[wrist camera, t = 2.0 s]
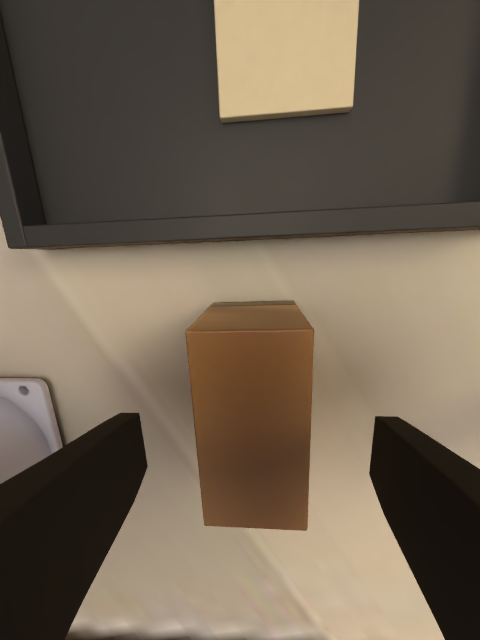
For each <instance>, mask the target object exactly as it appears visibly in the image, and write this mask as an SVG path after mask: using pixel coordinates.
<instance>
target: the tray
mask: <svg viewBox="0 0 480 640" xmlns="http://www.w3.org/2000/svg"><path fill="white" fill-rule="evenodd" d="M0 216H1V220H2V224H3V228H4V232H5V236H6V240H7V244H8V247H9V248H11V249H63V248H85V247H107V246H129V245H151V244H173V243H195V242H217V241H239V240H261V239H283V238H305V237H327V236H349V235H371V234H393V233H415V232H437V231H459V230H480V0H359V12H358V29H357V46H356V63H355V79H354V96H353V107H352V108H351V110H350V112H346V113H334V114H323V115H311V116H299V117H287V118H276V119H264V120H252V121H240V122H229V123H221V120H220V113H219V93H218V74H217V54H216V34H215V15H214V0H0Z"/></svg>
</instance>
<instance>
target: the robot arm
mask: <svg viewBox="0 0 480 640" xmlns="http://www.w3.org/2000/svg"><path fill="white" fill-rule="evenodd" d="M26 387H27V388H28V389H27V388H26ZM147 467H148V466H147V460H146V453H145V447H144V441H143V434H142V428H141V421H140V415H139V413H119V414H118V415H116V416H114V417H112V418H110V419H108V420H107V421H105V422H103V423H102V424H100V425H98V426H97V427H95V428H93V429H92V430H90V431H88V432H87V433H85V434H84V435H82V436H80V437H79V438H77V439H75V440H74V441H72V442H71V443H69V444H67V445H66V446H64V447H63V445H62V441H61V437H60V433H59V429H58V425H57V421H56V417H55V413H54V409H53V405H52V401H51V397H50V393H49V389H48V386H47V384H46V382H45V381H43V380H42V379H39V378H0V640H65V638H66V636H67V633H68V631H69V629H70V626H71V624H72V622H73V620H74V618H75V616H76V614H77V612H78V610H79V608H80V606H81V604H82V602H83V600H84V598H85V596H86V594H87V592H88V590H89V588H90V586H91V584H92V582H93V580H94V578H95V576H96V574H97V573H98V571H99V569H100V567H101V565H102V563H103V561H104V559H105V557H106V555H107V553H108V551H109V550H110V548H111V546H112V544H113V542H114V540H115V538H116V536H117V534H118V532H119V530H120V528H121V526H122V524H123V522H124V520H125V519H126V517H127V515H128V513H129V511H130V509H131V507H132V505H133V503H134V500H135V498H136V495H137V493H138V490H139V488H140V486H141V483H142V480H143V477H144V475H145V472H146V469H147ZM369 474H370V477H371V480H372V483H373V486H374V489H375V491H376V494H377V497H378V500H379V502H380V505H381V508H382V510H383V513H384V515H385V517H386V519H387V521H388V523H389V526H390V528H391V530H392V532H393V534H394V536H395V538H396V540H397V542H398V544H399V546H400V548H401V550H402V552H403V554H404V556H405V558H406V560H407V562H408V564H409V567H410V569H411V571H412V573H413V575H414V577H415V579H416V581H417V583H418V585H419V587H420V589H421V591H422V593H423V595H424V597H425V599H426V601H427V603H428V605H429V607H430V609H431V611H432V613H433V615H434V617H435V619H436V621H437V623H438V625H439V628H440V630H441V632H442V634H443V636H444V638H445V640H480V469H479V468H477V467H476V466H474V465H472V464H471V463H469V462H468V461H466V460H465V459H463V458H461V457H460V456H458V455H457V454H455V453H454V452H452V451H451V450H449V449H448V448H446V447H445V446H443V445H441V444H440V443H438V442H437V441H435V440H434V439H432V438H431V437H429V436H428V435H426V434H425V433H423V432H422V431H420V430H418V429H417V428H415V427H414V426H412V425H411V424H409V423H407V422H406V421H404V420H402V419H400V418H399V417H383V416H375V424H374V434H373V443H372V453H371V462H370V472H369Z"/></svg>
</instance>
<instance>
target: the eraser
mask: <svg viewBox="0 0 480 640" xmlns="http://www.w3.org/2000/svg"><path fill="white" fill-rule="evenodd" d="M186 343H187V353H188V363H189V374H190V384H191V394H192V405H193V415H194V426H195V436H196V446H197V457H198V467H199V477H200V488H201V498H202V509H203V519H204V525H205V526H222V527H243V528H263V529H283V530H303V531H306V530H307V526H308V496H309V467H310V437H311V407H312V377H313V348H314V329H313V328H312V326H311V325H310V323H309V322H308V320H307V319H306V318H305V316H304V315H303V313H302V312H301V311H300V309H299V308H298V306H297V305H296V304H295V302H294V301H261V302H221V303H213V304H212V305H211V306H210V307H209V308H208V309H207V310H206V311H205V312H204V313H203V314H202V315H201V316H200V317H199V318H198V319H197V320H196V321H195V322H194V323H193V324H192V325H191V326H190V327H189V328H188V329H187V330H186Z"/></svg>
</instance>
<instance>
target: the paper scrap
mask: <svg viewBox="0 0 480 640" xmlns="http://www.w3.org/2000/svg"><path fill="white" fill-rule="evenodd" d="M358 12H359V0H214V15H215V34H216V54H217V74H218V93H219V113H220V120H221V123H229V122H240V121H252V120H264V119H276V118H287V117H299V116H311V115H323V114H334V113H346V112H350V110H351V108H352V107H353V96H354V79H355V63H356V46H357V29H358Z"/></svg>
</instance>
